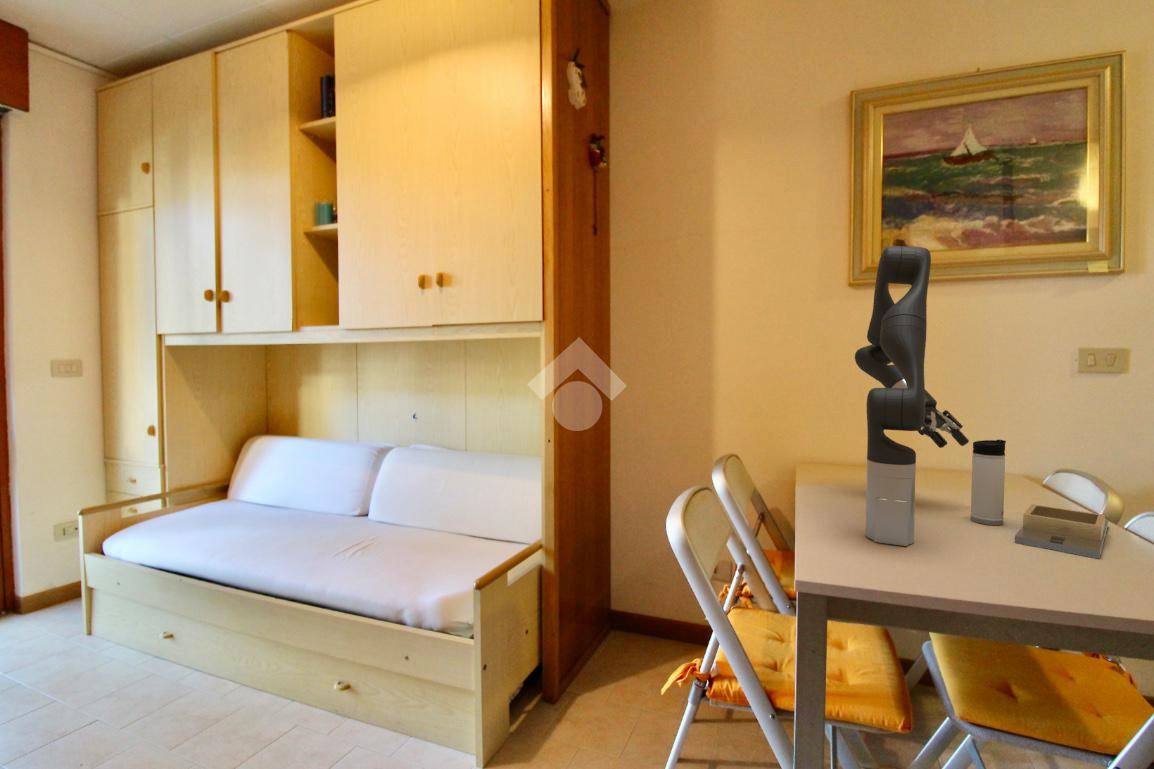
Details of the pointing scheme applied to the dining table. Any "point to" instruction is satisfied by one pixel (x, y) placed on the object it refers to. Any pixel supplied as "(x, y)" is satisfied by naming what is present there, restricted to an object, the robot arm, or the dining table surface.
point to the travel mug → (988, 482)
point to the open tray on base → (1063, 530)
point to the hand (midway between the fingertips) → (955, 444)
